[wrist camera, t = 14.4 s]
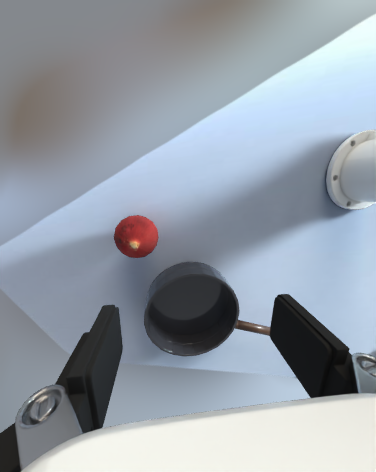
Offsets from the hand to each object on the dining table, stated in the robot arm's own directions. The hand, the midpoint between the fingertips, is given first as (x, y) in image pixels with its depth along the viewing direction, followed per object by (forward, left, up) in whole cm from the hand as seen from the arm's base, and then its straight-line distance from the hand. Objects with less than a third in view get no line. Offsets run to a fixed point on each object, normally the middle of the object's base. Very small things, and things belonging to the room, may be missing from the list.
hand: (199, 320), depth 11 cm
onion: (+1, -6, -20) cm, 21 cm away
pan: (+11, +6, -20) cm, 24 cm away
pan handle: (+11, +18, -17) cm, 27 cm away
